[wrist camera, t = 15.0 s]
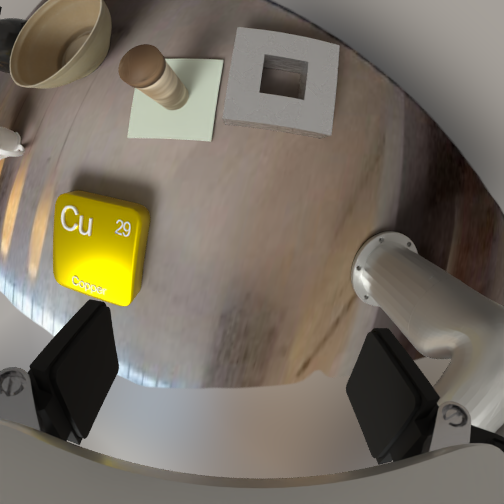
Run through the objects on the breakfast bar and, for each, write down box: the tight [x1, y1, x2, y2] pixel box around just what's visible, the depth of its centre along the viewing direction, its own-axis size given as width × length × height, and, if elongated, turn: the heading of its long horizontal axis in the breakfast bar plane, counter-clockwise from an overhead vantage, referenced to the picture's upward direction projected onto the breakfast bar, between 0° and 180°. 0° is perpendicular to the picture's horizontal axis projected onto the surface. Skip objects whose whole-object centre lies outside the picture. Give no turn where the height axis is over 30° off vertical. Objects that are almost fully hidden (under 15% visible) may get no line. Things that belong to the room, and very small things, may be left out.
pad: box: [128, 59, 224, 142], centre depth 32 cm, size 12×12×1 cm
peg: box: [119, 44, 189, 110], centre depth 25 cm, size 4×4×14 cm
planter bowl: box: [10, 0, 112, 88], centre depth 24 cm, size 16×16×11 cm
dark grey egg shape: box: [0, 7, 28, 73], centre depth 19 cm, size 10×10×15 cm
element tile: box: [53, 190, 150, 306], centre depth 37 cm, size 15×15×5 cm
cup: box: [0, 127, 25, 159], centre depth 29 cm, size 7×10×8 cm
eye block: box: [223, 27, 340, 139], centre depth 30 cm, size 13×13×5 cm
